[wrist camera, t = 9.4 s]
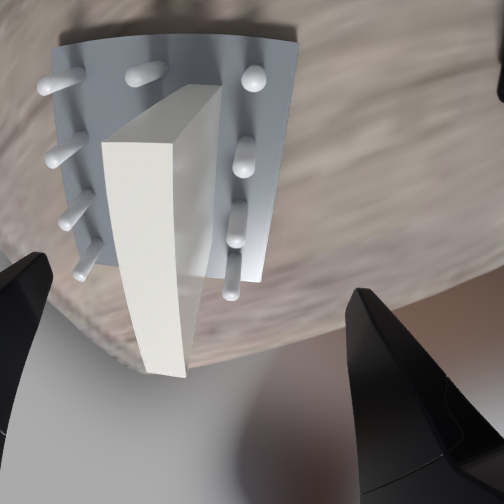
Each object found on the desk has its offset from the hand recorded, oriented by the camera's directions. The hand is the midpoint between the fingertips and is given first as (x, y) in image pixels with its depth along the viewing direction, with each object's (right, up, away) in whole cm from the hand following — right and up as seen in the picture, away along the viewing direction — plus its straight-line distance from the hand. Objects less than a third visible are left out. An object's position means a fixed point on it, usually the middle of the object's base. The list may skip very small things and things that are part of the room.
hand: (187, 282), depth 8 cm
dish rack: (-4, +6, +10) cm, 12 cm away
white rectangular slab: (-1, +5, +9) cm, 11 cm away
